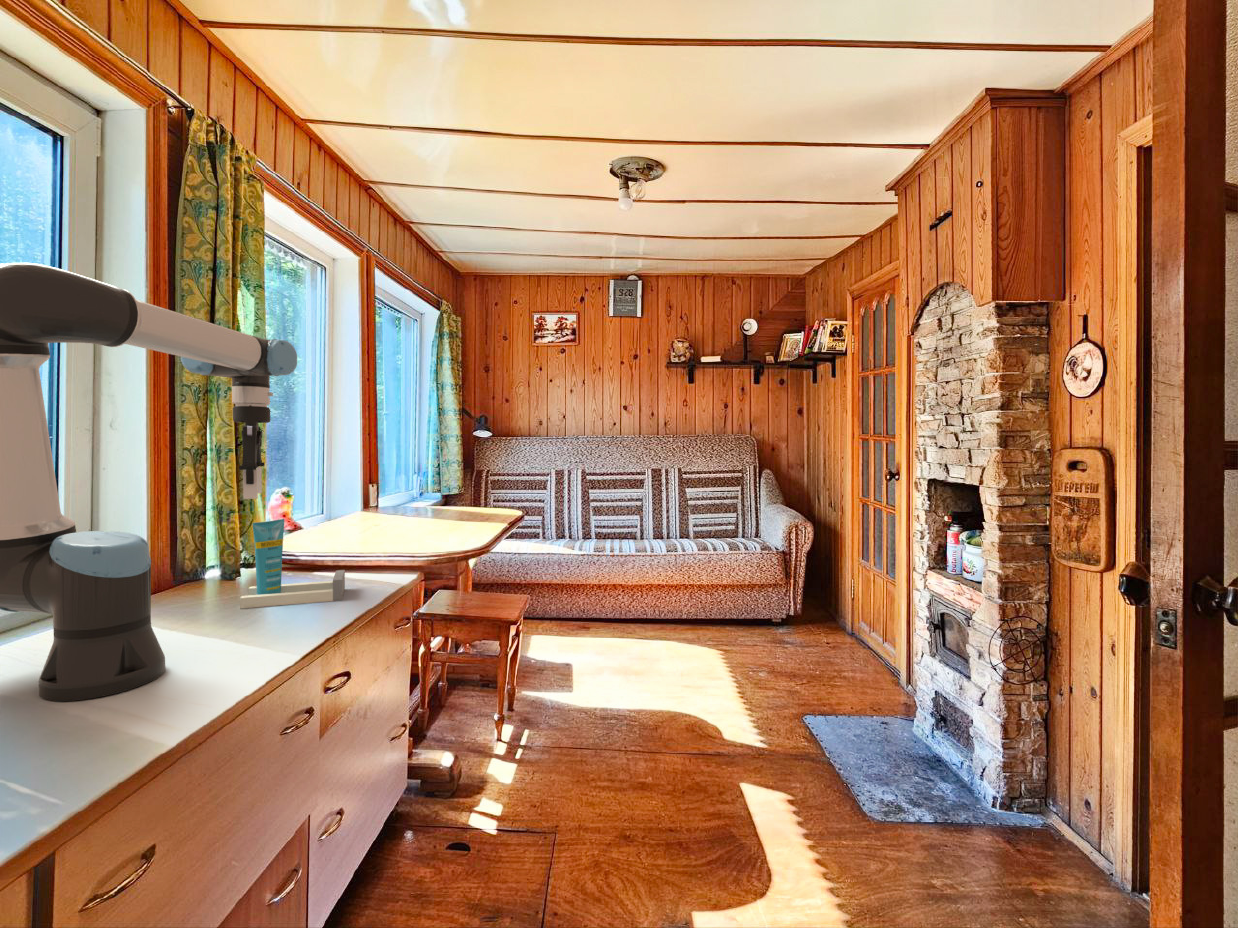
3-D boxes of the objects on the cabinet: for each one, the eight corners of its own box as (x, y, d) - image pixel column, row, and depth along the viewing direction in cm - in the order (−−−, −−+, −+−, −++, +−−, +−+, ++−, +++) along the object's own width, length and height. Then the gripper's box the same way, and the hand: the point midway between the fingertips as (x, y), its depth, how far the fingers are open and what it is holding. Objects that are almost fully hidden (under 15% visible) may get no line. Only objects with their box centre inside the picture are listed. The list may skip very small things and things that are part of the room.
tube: (261, 605, 136) (260, 523, 135) (247, 602, 138) (246, 521, 137) (290, 597, 143) (289, 519, 142) (276, 595, 145) (276, 517, 144)
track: (342, 600, 141) (342, 579, 141) (240, 608, 133) (239, 586, 133) (344, 589, 151) (344, 569, 151) (250, 596, 144) (250, 576, 143)
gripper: (266, 404, 128) (268, 500, 129) (273, 408, 150) (274, 490, 151) (225, 402, 125) (227, 501, 126) (238, 407, 147) (239, 491, 148)
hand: (253, 496), depth 139 cm, fingers open, 13 cm apart
